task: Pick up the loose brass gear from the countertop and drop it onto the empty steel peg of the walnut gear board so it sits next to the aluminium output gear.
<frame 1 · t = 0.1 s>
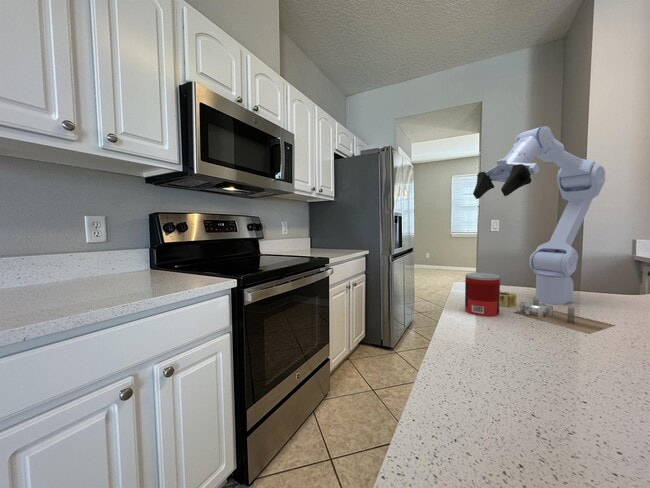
hand: (489, 194, 71), 32 cm above the countertop, tool tilted 50°, fingers open, 7 cm apart
output gear: (535, 313, 73), resting on gear board
brass gear: (504, 307, 81), on the countertop
gear board: (560, 322, 68), on the countertop
canned food: (481, 316, 75), on the countertop
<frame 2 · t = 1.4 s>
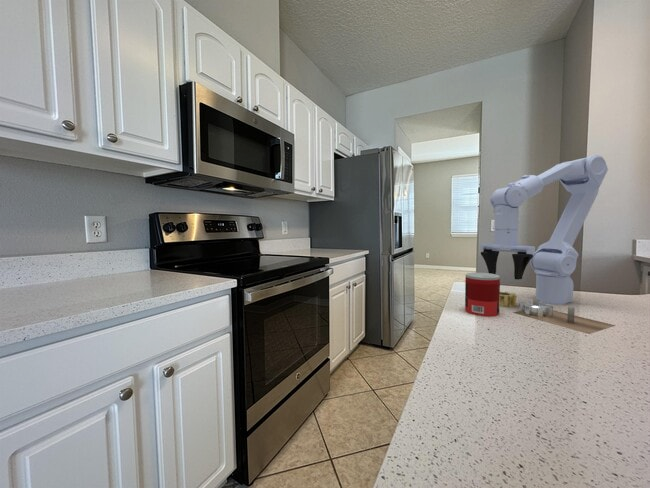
hand: (504, 276, 81), 9 cm above the countertop, tool pointing down, fingers open, 7 cm apart
nothing on the countertop moved.
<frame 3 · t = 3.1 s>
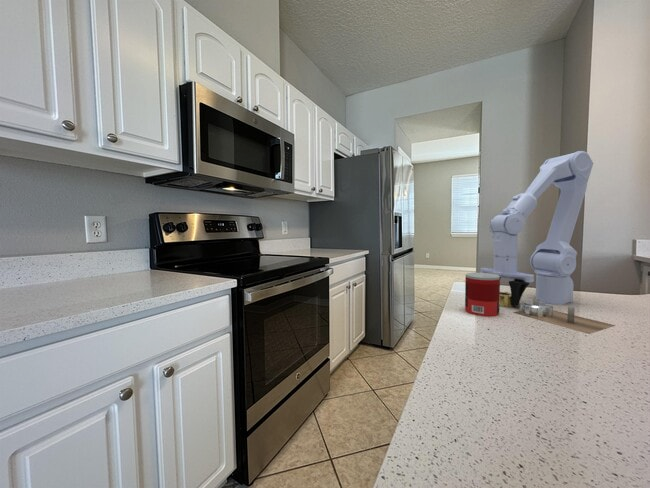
hand: (504, 302, 81), 1 cm above the countertop, tool pointing down, fingers closed on brass gear, 6 cm apart
brass gear: (504, 307, 81), on the countertop, touching gripper
everything else where it was.
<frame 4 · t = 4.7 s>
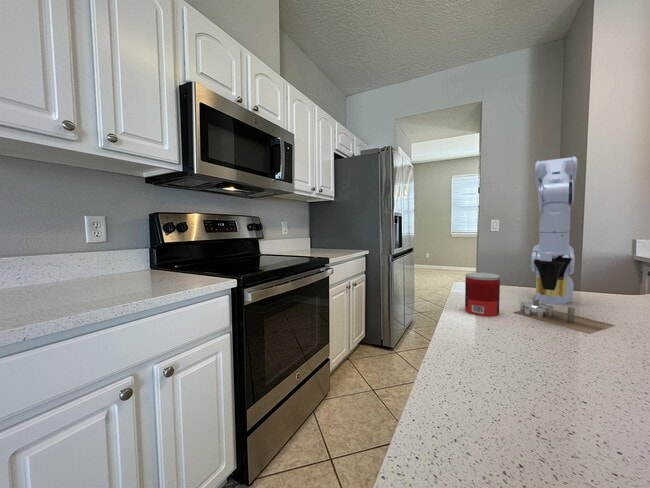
hand: (552, 287, 69), 8 cm above the countertop, tool pointing down, fingers closed on brass gear, 6 cm apart
brass gear: (550, 293, 69), point 7 cm above the countertop, touching gripper
everything else where it was.
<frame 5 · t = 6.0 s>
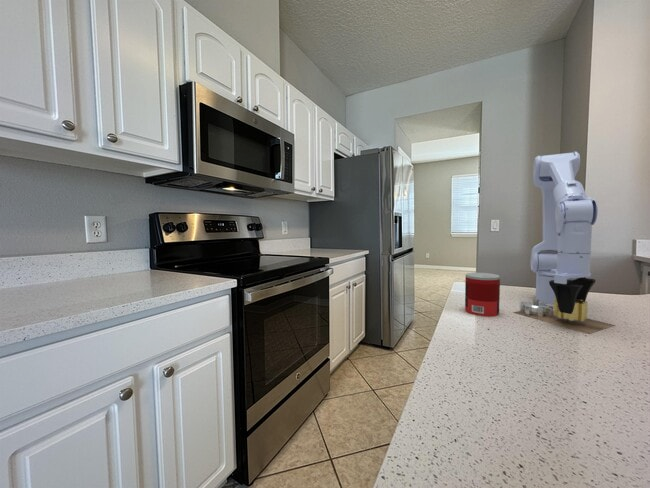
hand: (571, 310, 65), 4 cm above the countertop, tool pointing down, fingers closed on brass gear, 6 cm apart
brass gear: (569, 316, 66), point 2 cm above the countertop, touching gripper
everything else where it was.
when the fingers open (4 cm above the countertop, at t = 6.9 s): brass gear drops 1 cm, resting on gear board.
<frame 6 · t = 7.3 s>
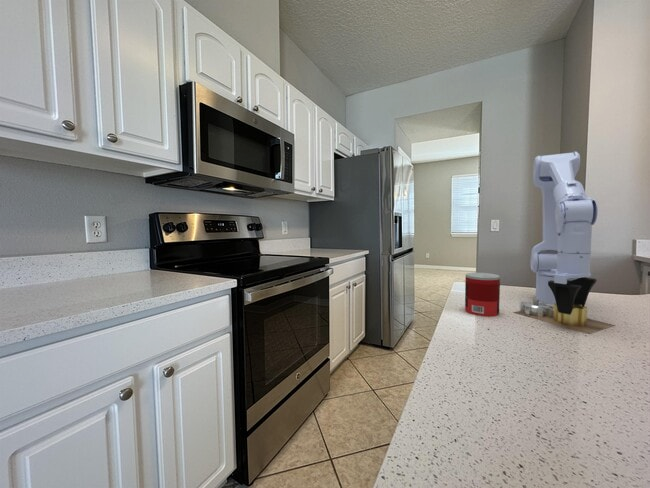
hand: (571, 310, 65), 4 cm above the countertop, tool pointing down, fingers open, 7 cm apart
brass gear: (569, 322, 66), point 1 cm above the countertop, touching gear board
everything else where it was.
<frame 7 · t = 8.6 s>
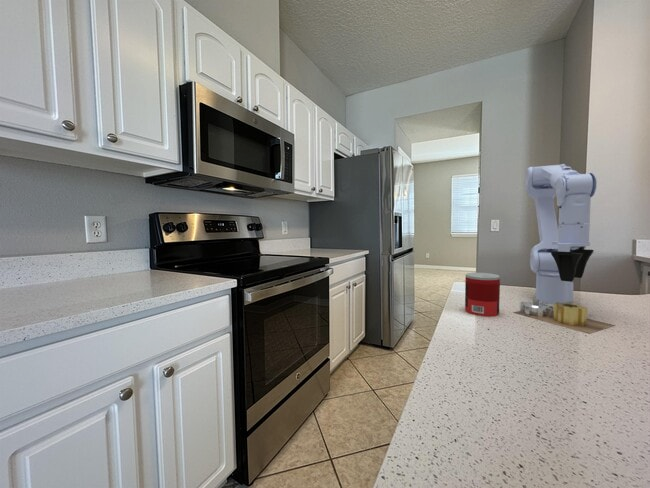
hand: (571, 279, 69), 10 cm above the countertop, tool pointing down, fingers open, 7 cm apart
nothing on the countertop moved.
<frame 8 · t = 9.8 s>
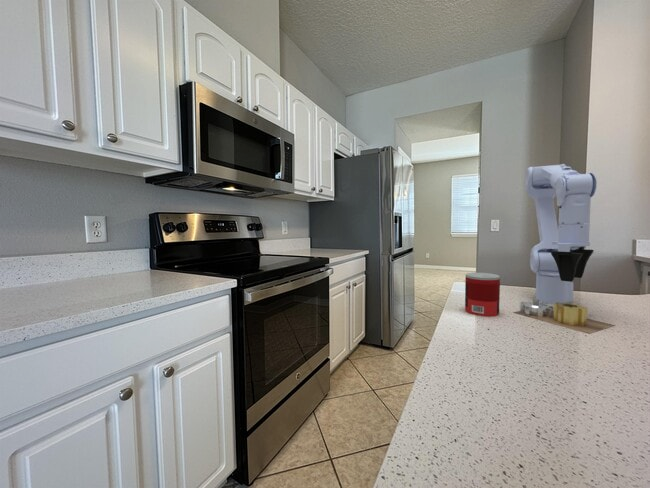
hand: (571, 279, 69), 10 cm above the countertop, tool pointing down, fingers open, 7 cm apart
nothing on the countertop moved.
at the end: brass gear 0.2 cm from the target spot, point 1.0 cm above the countertop; brass gear tilted 0°; the gripper is holding nothing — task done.
